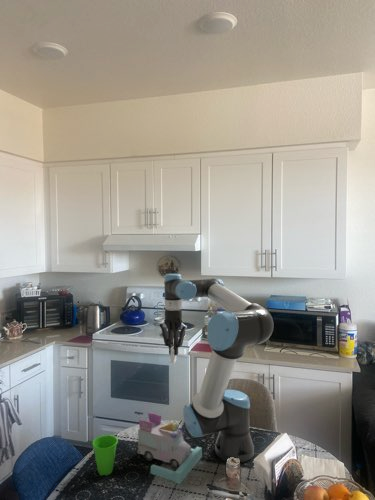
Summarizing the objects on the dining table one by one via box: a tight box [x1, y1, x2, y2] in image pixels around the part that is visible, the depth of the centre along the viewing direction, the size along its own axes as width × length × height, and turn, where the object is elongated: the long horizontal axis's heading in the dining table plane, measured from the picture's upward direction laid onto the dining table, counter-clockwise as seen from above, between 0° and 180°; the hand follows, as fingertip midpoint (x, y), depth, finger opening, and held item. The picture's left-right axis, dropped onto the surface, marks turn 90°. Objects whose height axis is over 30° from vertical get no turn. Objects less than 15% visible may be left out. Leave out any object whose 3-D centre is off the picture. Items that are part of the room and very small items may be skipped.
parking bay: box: [150, 446, 203, 485], centre depth 139 cm, size 12×18×4 cm, turn 153°
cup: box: [91, 434, 119, 476], centre depth 135 cm, size 9×9×11 cm
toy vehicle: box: [136, 412, 192, 470], centre depth 142 cm, size 9×20×15 cm, turn 63°
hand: (173, 362), depth 166 cm, fingers closed
